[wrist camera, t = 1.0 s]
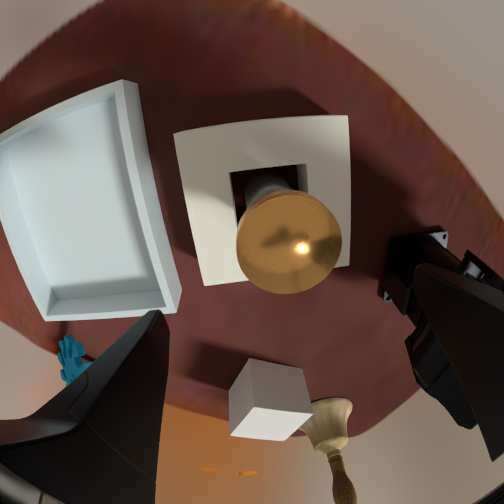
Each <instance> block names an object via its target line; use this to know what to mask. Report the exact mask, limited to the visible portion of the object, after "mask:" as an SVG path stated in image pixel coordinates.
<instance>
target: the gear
mask: <svg viewBox="0 0 504 504" xmlns="http://www.w3.org/2000/svg"><path fill="white" fill-rule="evenodd" d="M59 346H60V348H61V352H58V359H59V361H60V363H61V364H62V366H63V369H62V370H61V377H62V379H63V380H64V381H66V383H67V384H66V386H68V385H69V384H70V383H71V382H72V381H73V380H74V379H75V378H76V377H78V376H79V375H80V374H81V373H82V372H83V371H84V370H86V368H87V367H88V366H89V365H90V364H91V363H92V362H86V363H82V361H81V356H84V355H85V350H84V348H83V346H82V344H81V342H79V343H76V342H75V339H74V337H73V336H72V335H68V336H64V340H60V341H59Z"/></svg>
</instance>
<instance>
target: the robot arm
mask: <svg viewBox="0 0 504 504" xmlns="http://www.w3.org/2000/svg"><path fill="white" fill-rule="evenodd" d="M443 235H444V236H443ZM396 241H397V242H396ZM447 241H448V232H446V231H445V230H438V231H431V232H424V233H417V234H410V235H403V236H396V237H392V238H391V239H390V241H389V248H388V257H387V262H386V265H385V272H384V280H383V294H382V299H383V301H384V302H386V303H388V302H393V303H394V304H395V305H396V307H397V308H398V309H399V311H400V312H401V314H403V315H407V316H408V317H409V318H410V320H411V321H412V323H413V324H414V325H415V327H416V329H415V330H414V331H413V333H412V334H411V335H410V336H408V337H407V338H406V340H405V345H406V348H407V351H408V355H409V358H410V362H411V365H412V369H413V373H414V376H415V378H416V382H417V384H418V385H420V386H421V387H422V389H423V390H424V391H425V392H426V393H428V394H429V395H430V396H432V397H434V398H436V399H437V400H438V401H439V402H440V403H441V404H442V405H443V406H444V407H445V408H446V409H447V411H448V412H449V413H450V415H451V416H452V417H453V419H454V420H455V422H456V423H457V424H458V425H459V426H462V427H464V428H467V429H473V428H474V427H475V426H476V425H477V424H478V425H479V427H480V430H481V433H482V435H483V438H484V441H485V443H486V446H487V449H488V452H489V455H490V458H491V460H492V462H493V461H495V460H496V459H498V458H499V457H500V456H502V455H503V454H504V278H503V277H502V276H500V275H499V274H498V273H497V272H496V271H495V270H493V269H492V268H491V267H490V266H488V265H487V264H486V263H485V262H483V261H482V260H481V259H480V258H478V257H477V256H476V255H474V254H473V253H472V252H470V251H469V250H468V249H467V251H466V253H465V254H464V256H465V257H464V258H463V260H462V261H460V260H459V259H458V258H457V257H456V256H454V255H453V254H452V253H451V252H450V251H448V250H447V249H446V246H447ZM395 242H396V244H395V245H394V243H395ZM388 296H389V297H388ZM387 297H388V298H387ZM169 339H170V331H169V327H168V325H167V322H166V320H165V317H164V315H163V313H162V311H161V310H160V309H157V310H149V311H148V312H147V313H146V314H145V315H143V316H142V317H141V318H140V319H139V320H138V321H137V322H136V323H135V324H134V325H132V326H131V327H130V328H129V329H128V330H127V331H126V332H125V333H124V334H123V335H122V336H120V337H119V338H118V339H117V340H116V341H115V342H114V343H113V344H112V345H111V346H110V347H109V348H107V349H106V350H105V351H104V352H103V353H102V354H101V355H100V356H99V357H98V358H97V359H96V360H95V361H94V362H92V363H91V364H90V365H89V366H88V367H87V368H86V370H84V371H83V372H82V373H81V374H80V375H79V376H78V377H76V378H75V379H74V380H73V381H72V382H71V383H70V384H69V385H68V386H66V387H65V388H64V389H63V390H62V391H61V392H59V393H58V394H57V395H56V396H54V397H53V398H52V399H51V400H49V401H48V402H47V403H46V404H45V405H43V406H42V407H41V408H40V409H39V410H37V411H36V412H35V413H33V414H32V415H30V416H28V417H26V418H22V419H16V420H15V419H14V420H0V504H155V490H156V483H155V482H156V474H157V462H158V450H159V441H160V432H161V423H162V415H163V407H164V399H165V392H166V384H167V378H168V367H169ZM473 504H504V482H503V483H502V484H500V485H499V486H498V487H496V488H495V489H494V490H492V491H491V492H489V493H488V494H486V495H485V496H484V497H482V498H481V499H479V500H478V501H476V502H474V503H473Z"/></svg>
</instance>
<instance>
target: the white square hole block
mask: <svg viewBox="0 0 504 504" xmlns="http://www.w3.org/2000/svg"><path fill="white" fill-rule="evenodd" d="M173 135H174V141H175V147H176V153H177V159H178V164H179V170H180V175H181V180H182V186H183V191H184V196H185V201H186V206H187V211H188V216H189V221H190V225H191V230H192V235H193V239H194V244H195V248H196V253H197V257H198V261H199V266H200V270H201V274H202V278H203V283H204V286H208V285H216V284H224V283H232V282H239V281H247V280H249V279H248V278H247V277H246V276H245V275H244V273H243V272H242V270H241V268H240V266H239V263H238V259H237V253H236V232H237V227H238V222H237V215H236V208H235V201H234V194H233V188H232V181H231V174H230V172H235V171H243V170H250V169H258V168H267V167H276V166H285V165H296V166H297V179H298V191H302V192H305V193H308V194H310V195H312V196H314V197H316V198H317V199H318V200H320V201H321V202H322V203H323V204H324V205H325V206H326V207H327V208H328V209H329V211H330V212H331V213H332V214H333V215H334V217H335V218H336V220H337V222H338V224H339V227H340V229H341V234H342V248H341V253H340V256H339V259H338V261H337V263H336V265H335V267H334V268H336V267H343V266H349V257H350V230H351V172H350V145H349V128H348V116H344V115H313V116H295V117H281V118H269V119H259V120H250V121H242V122H234V123H227V124H220V125H214V126H207V127H201V128H196V129H190V130H185V131H181V132H177V133H174V134H173Z"/></svg>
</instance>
